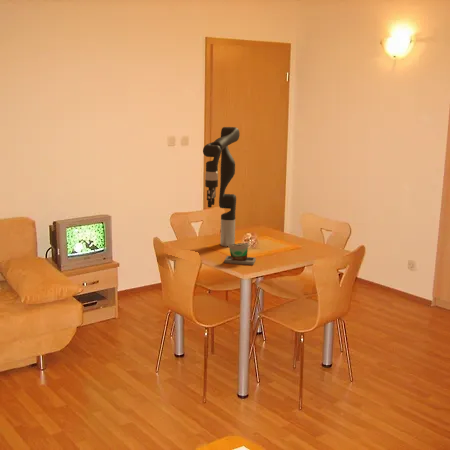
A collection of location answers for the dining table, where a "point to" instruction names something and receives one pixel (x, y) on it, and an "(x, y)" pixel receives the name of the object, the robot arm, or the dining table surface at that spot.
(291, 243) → the dining table surface
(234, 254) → the food container
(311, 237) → the dining table surface
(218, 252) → the dining table surface
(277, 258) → the dining table surface
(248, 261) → the tray
